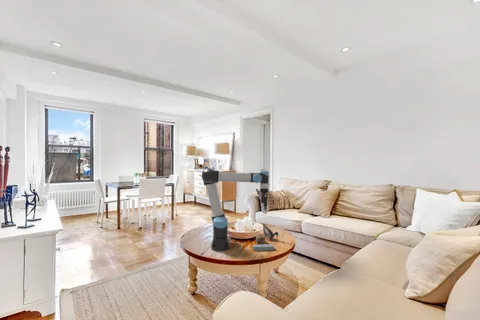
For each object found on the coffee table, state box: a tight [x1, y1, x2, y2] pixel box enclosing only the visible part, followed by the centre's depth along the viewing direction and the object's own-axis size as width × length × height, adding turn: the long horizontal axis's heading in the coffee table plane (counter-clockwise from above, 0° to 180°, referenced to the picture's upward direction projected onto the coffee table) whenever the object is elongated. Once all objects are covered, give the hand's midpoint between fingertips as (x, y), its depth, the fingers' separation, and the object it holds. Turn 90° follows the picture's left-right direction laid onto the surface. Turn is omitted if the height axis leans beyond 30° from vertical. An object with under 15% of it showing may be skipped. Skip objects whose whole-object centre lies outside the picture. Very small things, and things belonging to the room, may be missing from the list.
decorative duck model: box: [262, 223, 279, 240], centre depth 210 cm, size 15×8×15 cm, turn 53°
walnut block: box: [255, 234, 266, 245], centre depth 200 cm, size 7×7×6 cm
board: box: [252, 243, 275, 252], centre depth 186 cm, size 16×5×3 cm, turn 94°
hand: (263, 212), depth 209 cm, fingers open, 13 cm apart
